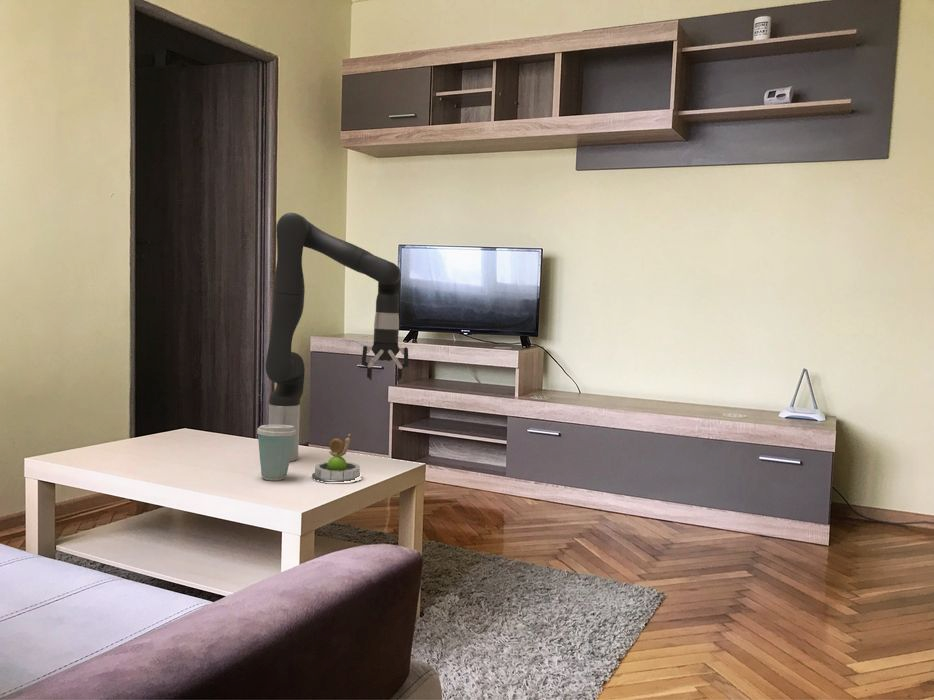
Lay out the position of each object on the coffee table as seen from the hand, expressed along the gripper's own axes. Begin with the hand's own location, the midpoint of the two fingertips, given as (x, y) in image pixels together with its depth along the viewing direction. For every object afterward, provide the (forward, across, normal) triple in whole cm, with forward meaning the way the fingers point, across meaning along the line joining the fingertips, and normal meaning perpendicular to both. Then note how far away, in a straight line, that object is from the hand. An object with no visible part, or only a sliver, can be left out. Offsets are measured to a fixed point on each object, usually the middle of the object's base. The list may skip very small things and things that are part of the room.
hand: (384, 380), depth 231 cm
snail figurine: (+26, -13, -19) cm, 34 cm away
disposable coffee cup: (+26, -30, -20) cm, 45 cm away
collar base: (+26, -13, -19) cm, 35 cm away
